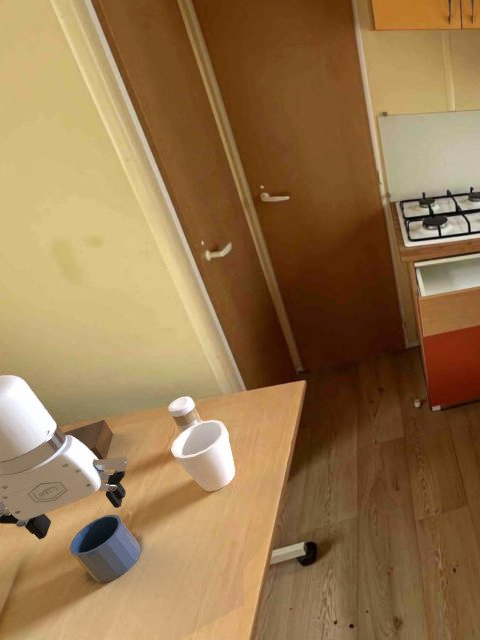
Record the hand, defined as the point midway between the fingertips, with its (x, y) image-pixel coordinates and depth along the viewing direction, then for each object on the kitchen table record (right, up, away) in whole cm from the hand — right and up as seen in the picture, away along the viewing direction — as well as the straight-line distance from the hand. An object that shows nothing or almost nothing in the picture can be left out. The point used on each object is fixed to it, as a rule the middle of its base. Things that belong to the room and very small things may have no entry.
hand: (84, 515), depth 72 cm
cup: (0, -13, +7) cm, 14 cm away
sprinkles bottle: (-2, -1, +30) cm, 30 cm away
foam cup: (+8, -5, +22) cm, 24 cm away
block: (-27, -2, +27) cm, 38 cm away
